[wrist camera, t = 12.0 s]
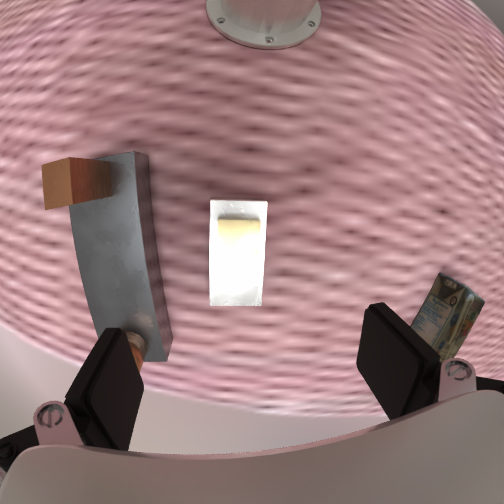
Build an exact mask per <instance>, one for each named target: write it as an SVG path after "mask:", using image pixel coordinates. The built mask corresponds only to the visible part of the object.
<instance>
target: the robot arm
mask: <svg viewBox="0 0 504 504" xmlns="http://www.w3.org/2000/svg"><path fill="white" fill-rule="evenodd" d="M206 11H207V15H208V18H209V20H210V22H211V23H212V25H213V26H214V27H215V28H216V29H217V30H218V31H219V32H220V33H221V34H222V35H224V36H225V37H227V38H228V39H230V40H232V41H235V42H237V43H239V44H242V45H245V46H248V47H254V48H259V49H283V48H287V47H292V46H295V45H297V44H300V43H302V42H304V41H305V40H307V39H308V38H310V37H311V35H312V34H313V33H314V32H315V31H316V30H317V28H318V26H319V24H320V21H321V14H322V12H321V7H320V4H319V2H318V0H207V1H206ZM267 42H270V43H267ZM440 358H441V356H440V355H439V354H438V353H437V352H436V351H435V350H434V349H433V348H432V347H431V346H430V345H429V344H428V343H427V342H426V341H425V340H424V339H423V338H422V337H421V336H420V335H418V334H417V333H416V332H415V331H414V330H413V329H412V328H411V327H410V326H409V325H408V324H407V323H406V322H405V321H404V320H402V319H401V318H400V317H399V316H398V315H397V314H396V313H395V312H394V311H393V310H392V309H390V308H389V307H388V306H387V305H386V304H385V303H383V302H381V303H375V304H370V305H369V307H368V308H367V309H366V310H365V313H364V320H363V326H362V333H361V339H360V344H359V350H358V355H357V361H356V364H357V368H358V370H359V372H360V373H361V375H362V376H363V378H364V379H365V381H366V383H367V384H368V386H369V387H370V389H371V391H372V392H373V394H374V395H375V397H376V398H377V400H378V402H379V403H380V405H381V406H382V408H383V410H384V411H385V413H386V415H387V416H388V418H389V419H390V421H387V422H384V423H381V424H379V425H376V426H372V427H369V428H366V429H363V430H360V431H356V432H353V433H349V434H345V435H341V436H338V437H334V438H330V439H325V440H321V441H316V442H312V443H307V444H301V445H296V446H290V447H284V448H278V449H270V450H262V451H253V452H243V453H231V454H207V455H180V454H157V453H143V452H132V451H128V449H129V444H130V440H131V436H132V432H133V428H134V424H135V420H136V417H137V413H138V409H139V406H140V402H141V398H142V395H143V391H144V385H143V381H142V378H141V376H140V373H139V370H138V367H137V365H136V362H135V359H134V356H133V353H132V350H131V347H130V344H129V341H128V337H127V334H126V332H125V331H122V330H121V328H105V330H104V331H103V333H102V334H101V336H100V338H99V339H98V341H97V342H96V344H95V346H94V347H93V349H92V350H91V352H90V354H89V355H88V357H87V359H86V360H85V362H84V364H83V366H82V367H81V369H80V371H79V373H78V374H77V376H76V378H75V379H74V381H73V383H72V385H71V387H70V388H69V390H68V392H67V394H66V396H65V398H66V400H65V402H64V403H62V402H59V401H49V402H46V403H44V404H42V405H41V406H40V407H38V408H37V410H36V411H35V413H34V417H33V419H34V425H32V426H30V427H27V428H25V429H23V430H21V431H18V432H16V433H13V434H11V435H8V436H6V437H4V438H2V439H0V504H504V381H501V380H495V379H489V378H483V377H477V376H476V374H475V369H474V367H473V366H472V365H471V364H470V363H469V362H468V361H466V360H464V359H460V358H450V359H447V360H445V361H444V362H443V363H441V362H440V361H439V360H440Z"/></svg>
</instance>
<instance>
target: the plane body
mask: <svg viewBox="0 0 504 504" xmlns="http://www.w3.org/2000/svg"><path fill="white" fill-rule="evenodd" d="M42 179H43V192H44V202H45V210H48V209H53V208H58V207H63V206H68V205H69V210H70V218H71V225H72V232H73V238H74V244H75V250H76V255H77V260H78V265H79V269H80V274H81V278H82V283H83V287H84V291H85V295H86V298H87V302H88V306H89V309H90V313H91V316H92V320H93V323H94V326H95V329H96V332H97V335H98V338H100V336H101V334H102V333H103V331H104V330H105V328H121V330H122V331H125V332H126V334H127V337H128V341H129V344H130V347H131V350H132V353H133V356H134V359H135V362H136V365H137V367H138V370H139V373H140V370H141V367H142V364H143V362H164V361H167V360H168V356H169V352H170V348H171V344H172V340H173V336H172V332H171V327H170V322H169V317H168V312H167V307H166V302H165V296H164V291H163V285H162V279H161V273H160V267H159V260H158V253H157V246H156V238H155V231H154V222H153V213H152V203H151V192H150V180H149V166H148V155H145V154H142V153H138V152H135V151H133V152H127V153H122V154H116V155H111V156H106V157H101V158H97V159H83V158H72V157H68V158H65V159H61V160H57V161H54V162H50V163H47V164H44V165H42Z"/></svg>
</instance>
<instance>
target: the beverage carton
mask: <svg viewBox="0 0 504 504" xmlns="http://www.w3.org/2000/svg"><path fill="white" fill-rule="evenodd" d="M484 303H485V301H484V300H483V299H482V298H481V297H479V296H478V295H477V294H476V293H474V292H473V291H472V290H471V289H470V288H469V287H468V286H466V285H465V284H462V283H460V282H458V281H456V280H454V279H452V278H451V277H449V276H446V275H444V274H442V273H439V275H438V277H437V279H436V281H435V283H434V285H433V287H432V289H431V291H430V293H429V295H428V296H427V298H426V300H425V302H424V304H423V305H422V307H421V309H420V311H419V313H418V315H417V316H416V318H415V320H414V322H413V323H412V325H411V328H412V329H413V330H414V331H415V332H416V333H417V334H418V335H420V336H421V337H422V338H423V339H424V340H425V341H426V342H427V343H428V344H429V345H430V346H431V347H432V348H433V349H434V350H435V351H436V352H437V353H438V354H439V355H440V356H441V358H440V360H439V361H440V362H441V363H443V362H444V361H445V360H447V359H450V358H454V357H455V355H456V354H457V352H458V350H459V349H460V347H461V345H462V344H463V342H464V340H465V339H466V337H467V335H468V334H469V332H470V330H471V328H472V326H473V324H474V322H475V320H476V319H477V317H478V315H479V313H480V311H481V309H482V307H483V306H484Z"/></svg>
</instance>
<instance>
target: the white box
mask: <svg viewBox="0 0 504 504" xmlns="http://www.w3.org/2000/svg"><path fill="white" fill-rule="evenodd" d="M266 219H267V201H265V200H256V199H226V198H212V199H211V204H210V306H261V302H262V287H263V271H264V254H265V237H266Z"/></svg>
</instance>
